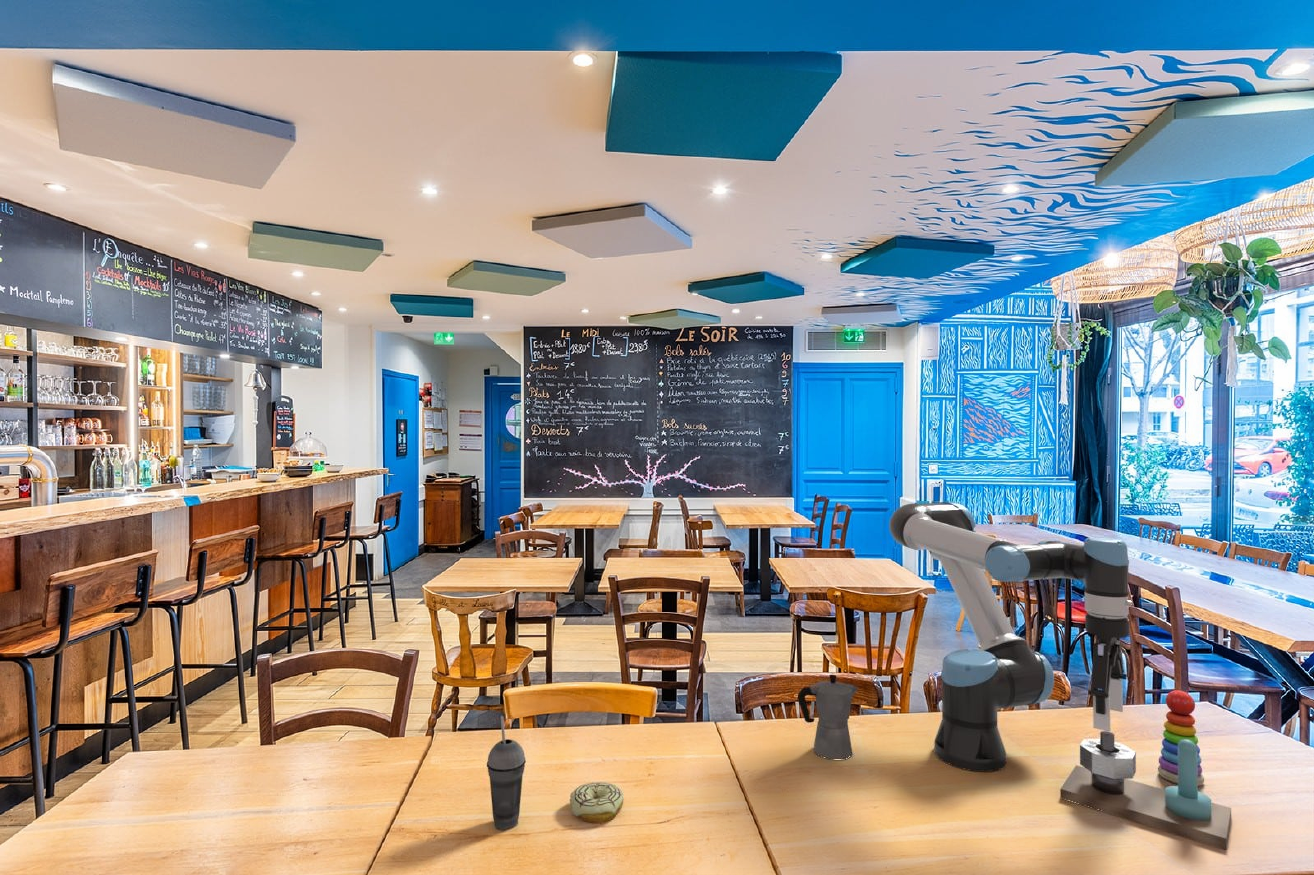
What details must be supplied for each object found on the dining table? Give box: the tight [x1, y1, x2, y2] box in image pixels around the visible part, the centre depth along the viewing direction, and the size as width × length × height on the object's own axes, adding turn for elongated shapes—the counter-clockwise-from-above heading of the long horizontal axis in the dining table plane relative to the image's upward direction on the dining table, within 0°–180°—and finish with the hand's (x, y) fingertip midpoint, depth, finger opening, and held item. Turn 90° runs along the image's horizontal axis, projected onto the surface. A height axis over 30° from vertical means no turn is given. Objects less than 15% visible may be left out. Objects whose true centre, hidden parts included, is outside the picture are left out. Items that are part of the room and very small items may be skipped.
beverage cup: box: [486, 715, 526, 831], centre depth 130 cm, size 7×7×20 cm
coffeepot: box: [797, 674, 860, 760], centre depth 160 cm, size 15×9×18 cm, turn 103°
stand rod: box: [1091, 730, 1124, 795], centre depth 140 cm, size 6×6×11 cm
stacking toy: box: [1157, 690, 1205, 787], centre depth 148 cm, size 8×8×19 cm
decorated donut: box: [569, 781, 624, 824], centre depth 135 cm, size 10×11×4 cm
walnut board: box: [1059, 764, 1232, 850], centre depth 136 cm, size 26×14×2 cm, turn 47°
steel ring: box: [1079, 738, 1137, 780], centre depth 140 cm, size 9×9×4 cm
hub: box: [1164, 739, 1212, 821], centre depth 131 cm, size 7×7×14 cm
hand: (1108, 719), depth 140 cm, fingers open, 13 cm apart
